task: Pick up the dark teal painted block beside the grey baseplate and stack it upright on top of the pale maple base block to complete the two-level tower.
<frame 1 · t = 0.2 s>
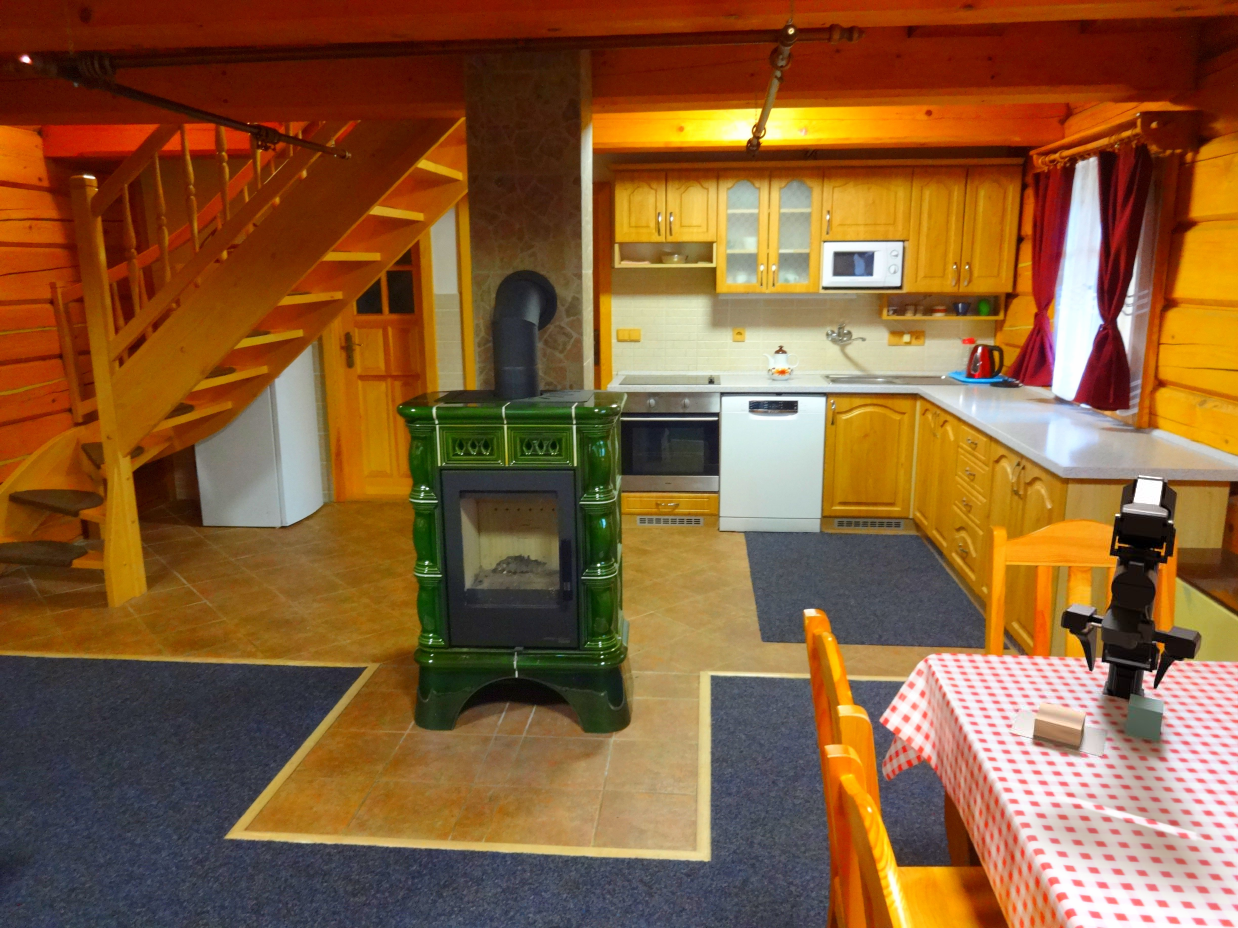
hand: (1122, 679, 140), 14 cm above the table, fingers open, 9 cm apart
baseplate: (1058, 734, 150), on the table
maple base block: (1058, 731, 150), point 1 cm above the table, touching baseplate
teal block: (1142, 735, 150), on the table
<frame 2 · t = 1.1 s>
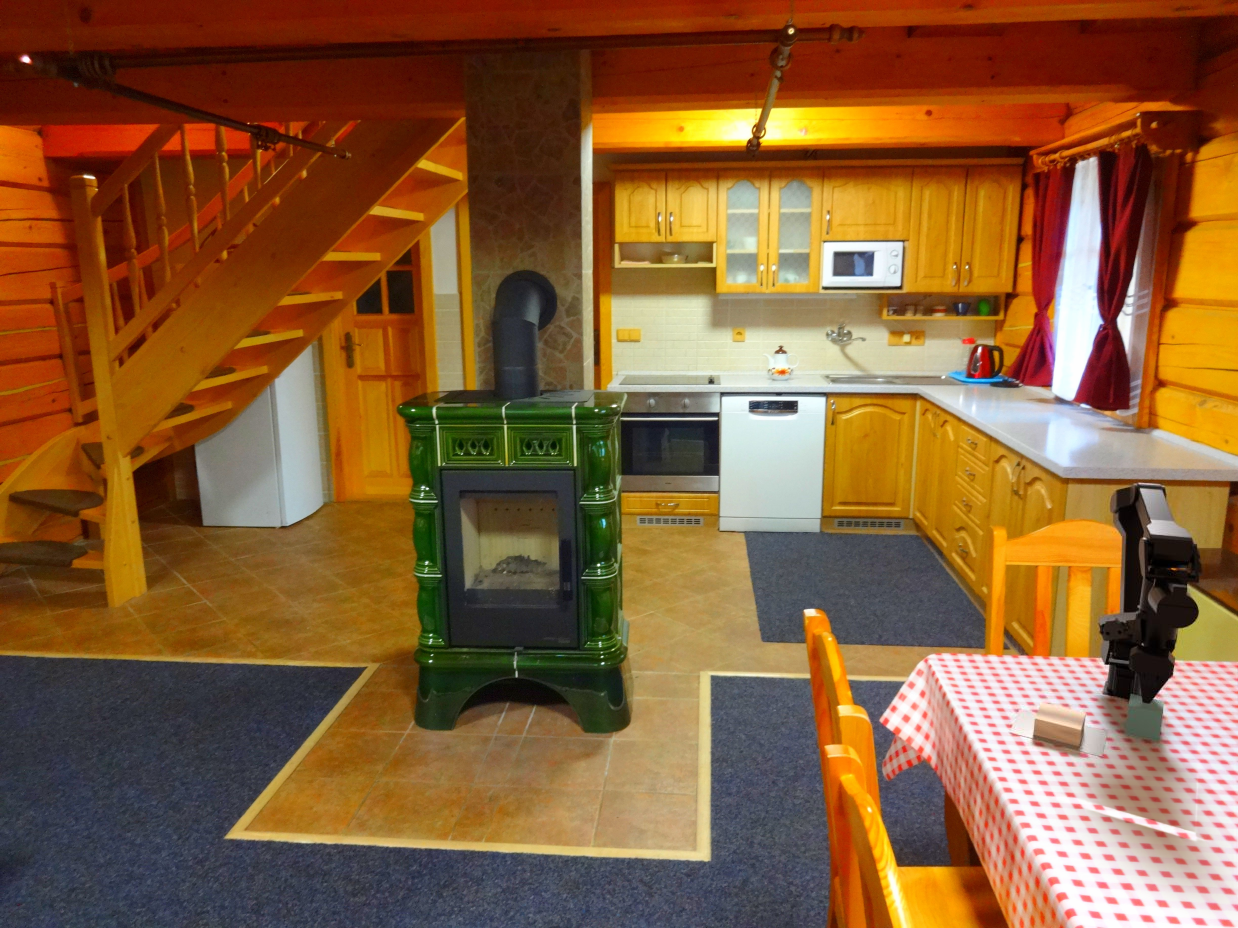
hand: (1147, 691, 148), 8 cm above the table, fingers open, 9 cm apart
nothing on the table moved.
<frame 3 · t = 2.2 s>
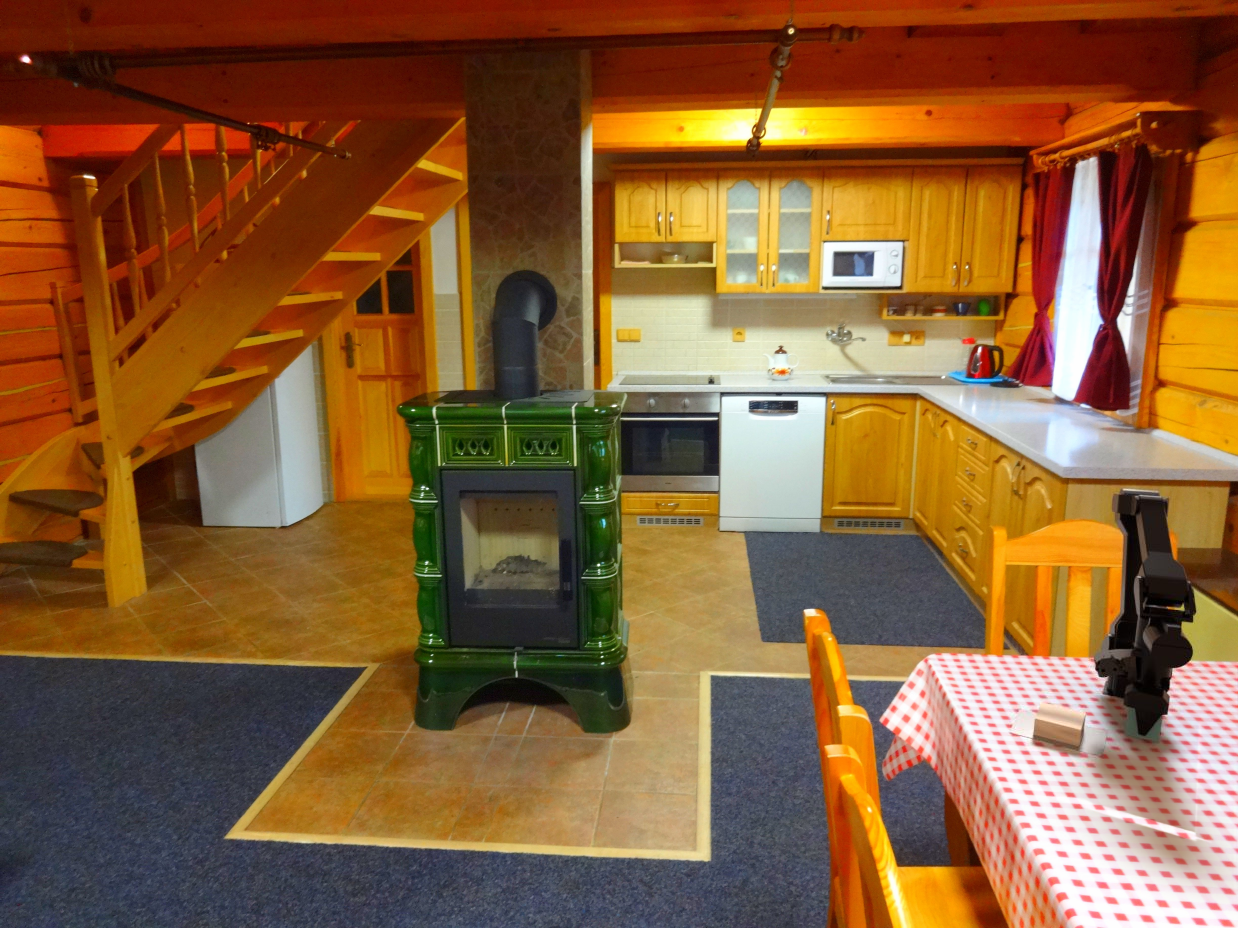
hand: (1143, 728, 150), 1 cm above the table, fingers closed on teal block, 5 cm apart
teal block: (1142, 734, 150), on the table, touching gripper
everything else where it was.
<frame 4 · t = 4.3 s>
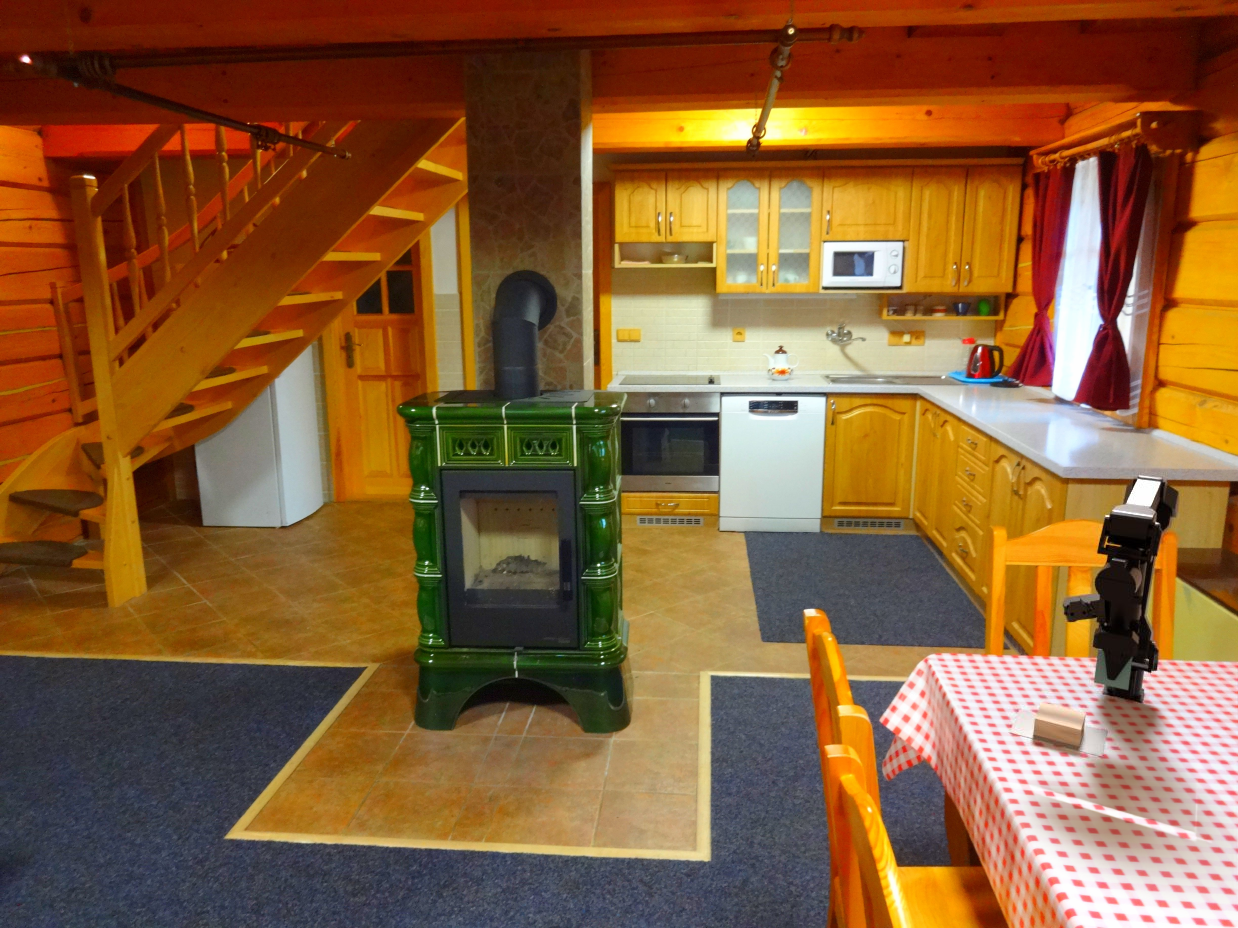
hand: (1112, 673, 147), 11 cm above the table, fingers closed on teal block, 5 cm apart
teal block: (1111, 680, 147), point 10 cm above the table, touching gripper
everything else where it was.
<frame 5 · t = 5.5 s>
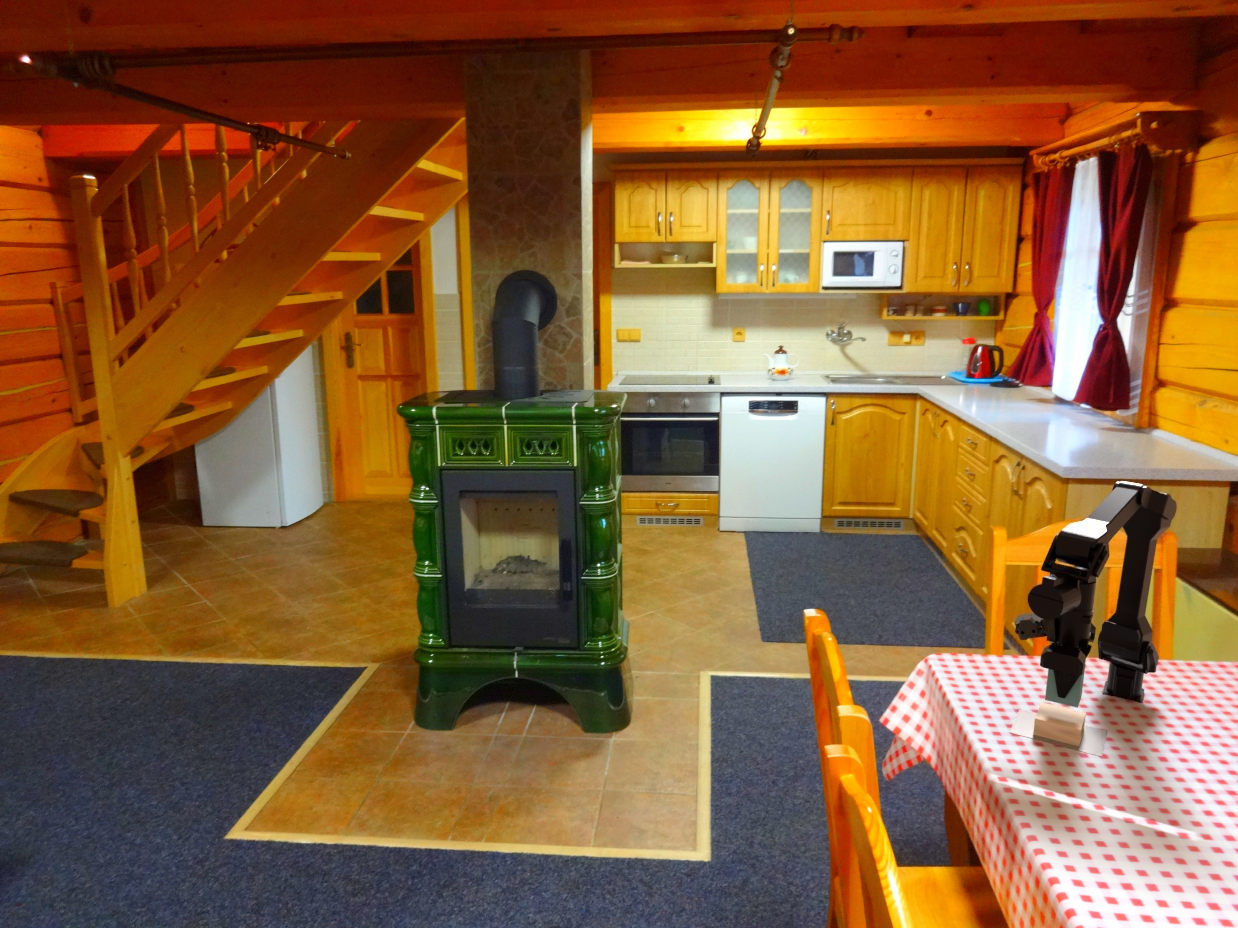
hand: (1063, 691, 148), 8 cm above the table, fingers closed on teal block, 5 cm apart
teal block: (1063, 697, 149), point 7 cm above the table, touching gripper
everything else where it was.
when the fingers open (6 cm above the table, at t = 6.3 s): teal block drops 1 cm, resting on maple base block.
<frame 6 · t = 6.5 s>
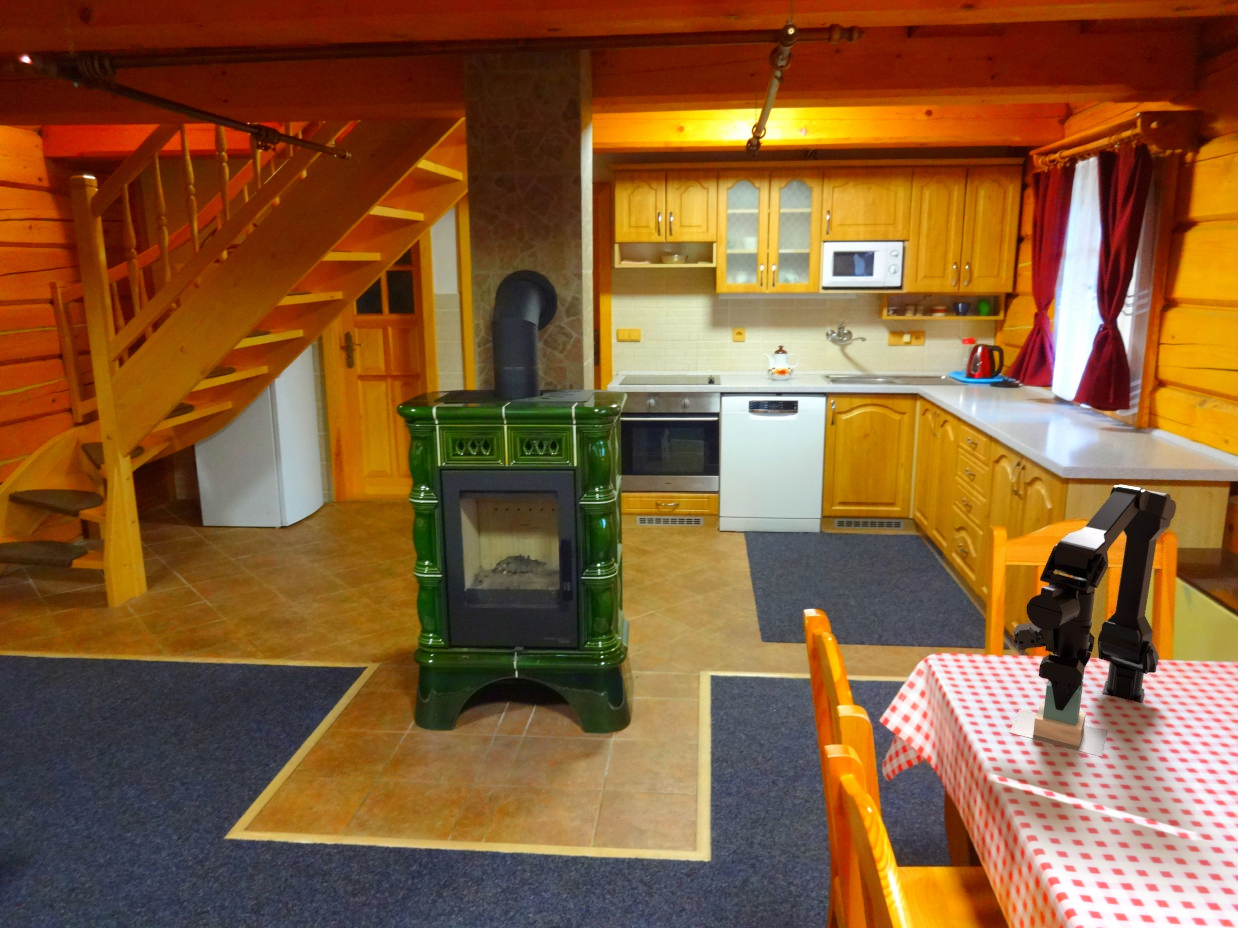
hand: (1062, 700, 149), 6 cm above the table, fingers open, 7 cm apart
maple base block: (1058, 731, 150), point 1 cm above the table, touching baseplate, teal block
teal block: (1061, 715, 149), point 4 cm above the table, touching maple base block
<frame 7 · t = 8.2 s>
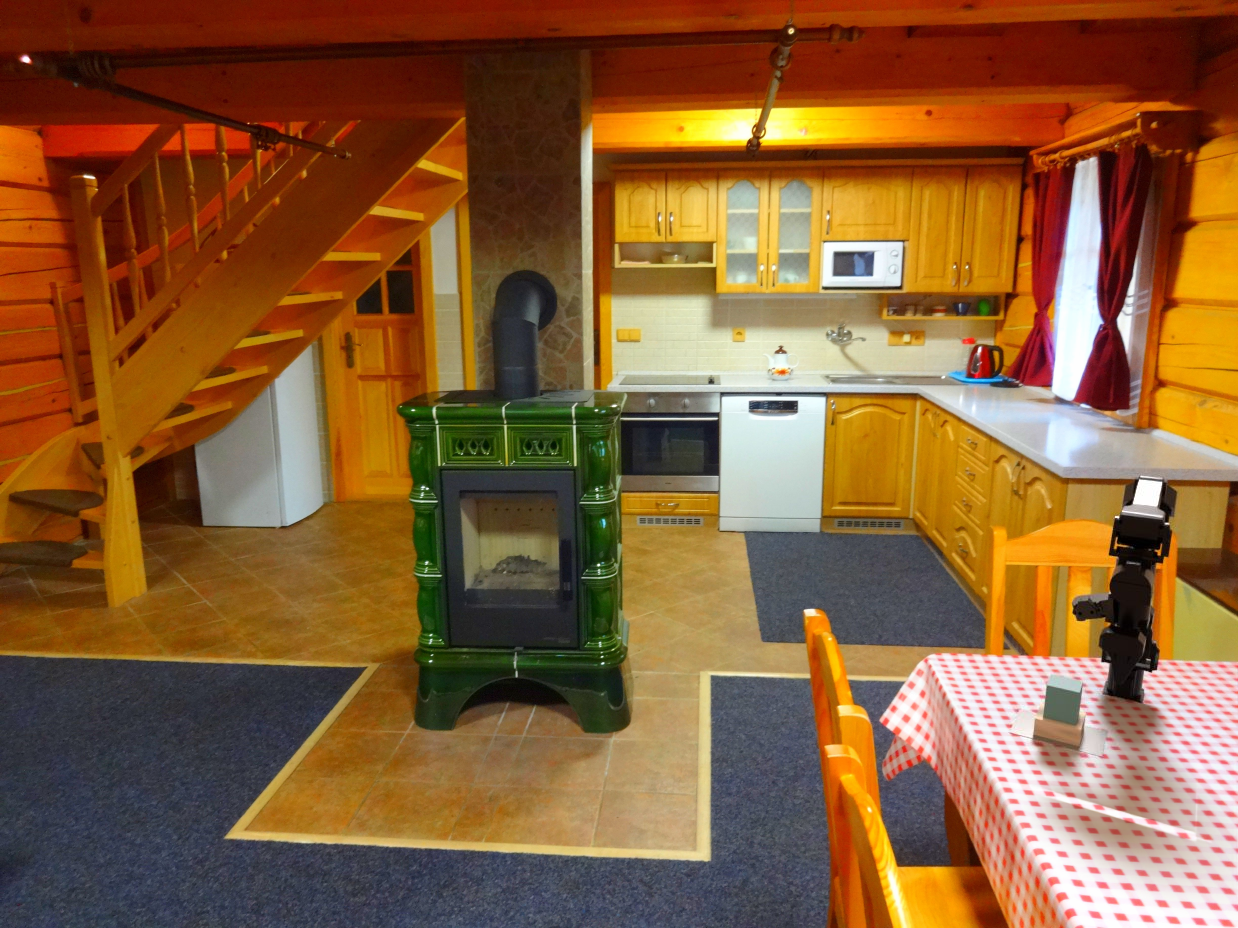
hand: (1121, 672, 148), 11 cm above the table, fingers open, 9 cm apart
nothing on the table moved.
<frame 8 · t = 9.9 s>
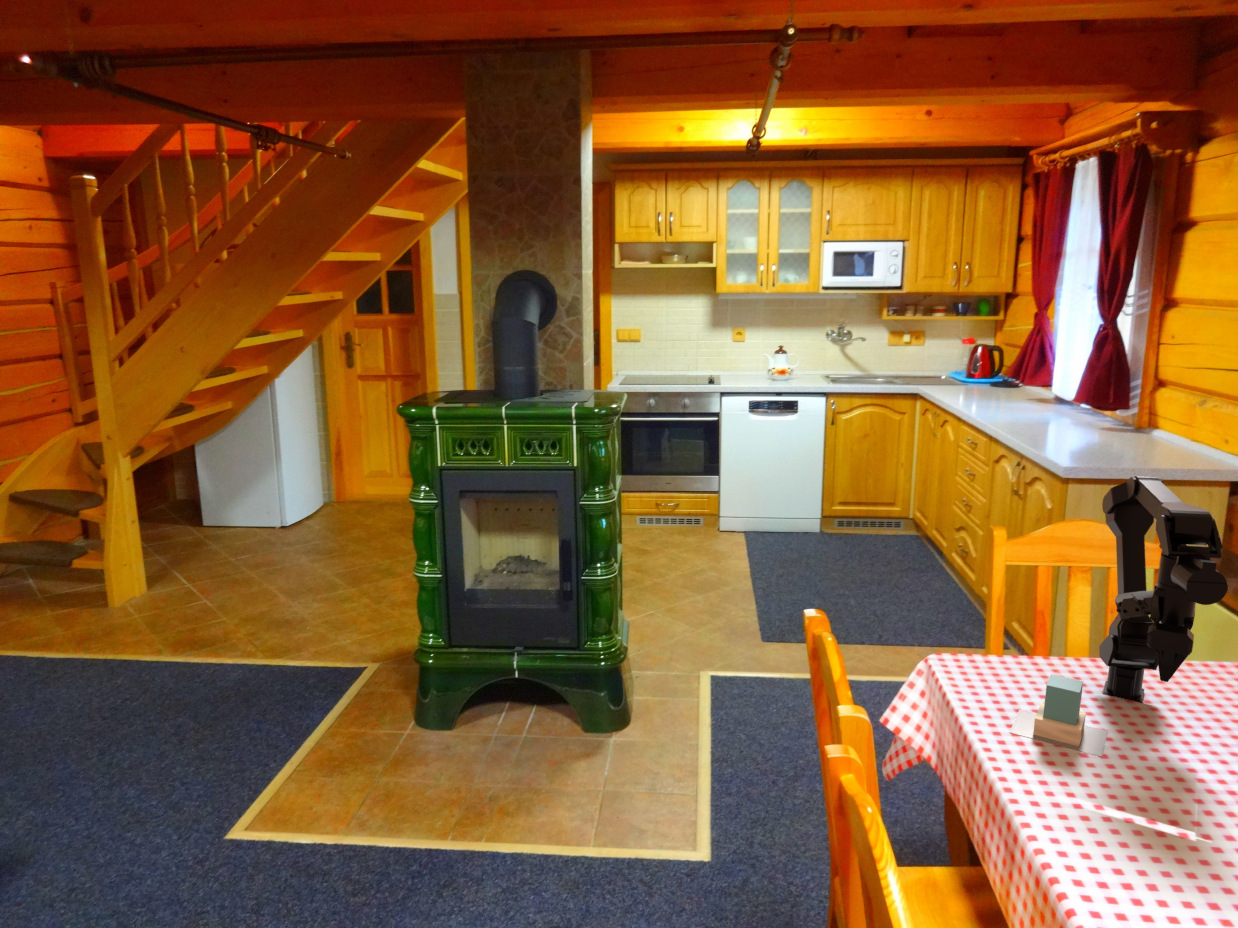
hand: (1165, 670, 147), 12 cm above the table, fingers open, 9 cm apart
nothing on the table moved.
at the end: teal block 0.1 cm off-centre on the maple base block, point 3.0 cm above the maple base block's base; teal block tilted 0°; maple base block moved 0.0 cm from its start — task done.
